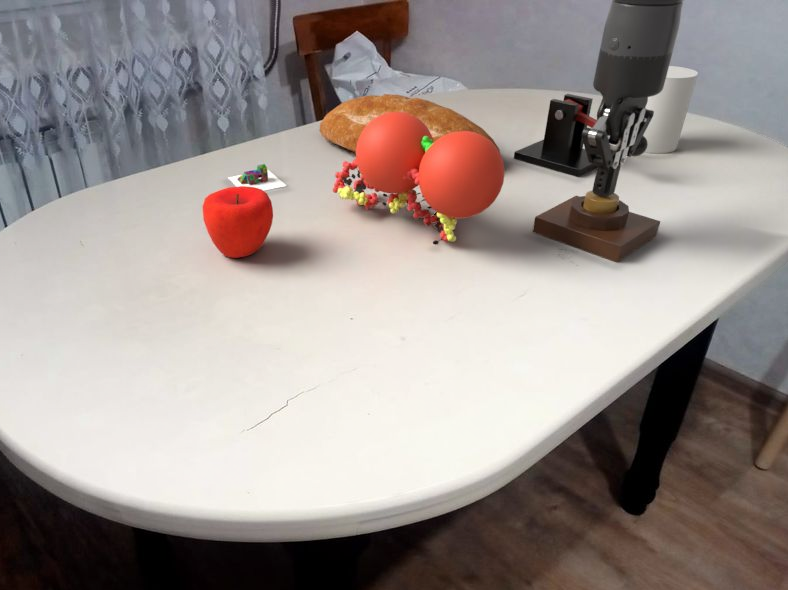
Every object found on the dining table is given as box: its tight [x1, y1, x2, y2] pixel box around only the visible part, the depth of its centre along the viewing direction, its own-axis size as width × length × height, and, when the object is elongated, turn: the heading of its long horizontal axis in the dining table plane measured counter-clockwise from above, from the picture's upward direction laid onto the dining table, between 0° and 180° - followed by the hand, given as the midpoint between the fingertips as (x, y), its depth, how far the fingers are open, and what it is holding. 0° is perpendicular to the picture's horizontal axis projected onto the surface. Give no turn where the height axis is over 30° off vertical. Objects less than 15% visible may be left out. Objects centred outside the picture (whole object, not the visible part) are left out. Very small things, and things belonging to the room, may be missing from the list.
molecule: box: [332, 112, 506, 246], centre depth 86 cm, size 25×11×15 cm, turn 48°
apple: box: [202, 186, 274, 259], centre depth 83 cm, size 9×9×8 cm
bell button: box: [583, 189, 620, 214], centre depth 84 cm, size 4×4×2 cm
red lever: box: [565, 99, 648, 158], centre depth 101 cm, size 15×3×3 cm, turn 42°
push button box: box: [532, 195, 661, 263], centre depth 85 cm, size 12×10×4 cm
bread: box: [318, 93, 501, 154], centre depth 112 cm, size 18×35×9 cm, turn 51°
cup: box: [643, 65, 699, 154], centre depth 110 cm, size 8×8×12 cm
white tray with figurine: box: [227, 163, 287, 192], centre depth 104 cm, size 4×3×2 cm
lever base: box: [513, 93, 598, 178], centre depth 106 cm, size 12×9×10 cm
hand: (602, 193), depth 83 cm, fingers closed
